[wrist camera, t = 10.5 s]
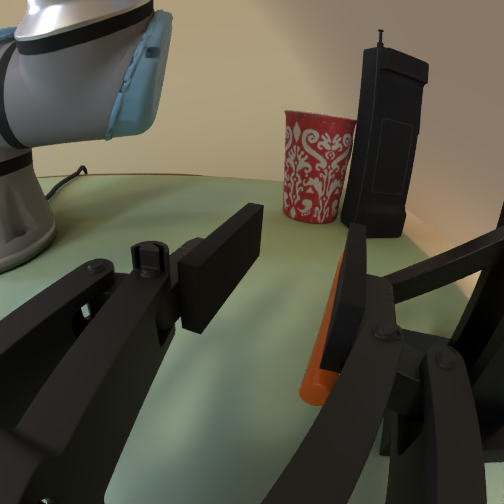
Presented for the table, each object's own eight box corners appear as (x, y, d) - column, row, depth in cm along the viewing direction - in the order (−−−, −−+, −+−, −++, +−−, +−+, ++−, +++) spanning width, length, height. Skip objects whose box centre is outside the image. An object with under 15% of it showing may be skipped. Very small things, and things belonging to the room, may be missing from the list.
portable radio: (383, 220, 41) (406, 50, 30) (408, 237, 36) (436, 48, 25) (336, 219, 40) (358, 33, 28) (359, 238, 34) (386, 26, 23)
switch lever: (313, 418, 10) (284, 375, 9) (348, 277, 19) (332, 245, 19) (641, 282, 3) (645, 219, 2) (534, 196, 12) (525, 160, 12)
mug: (315, 232, 35) (331, 114, 29) (261, 209, 40) (269, 107, 34) (366, 215, 42) (381, 124, 36) (318, 197, 48) (328, 114, 42)
